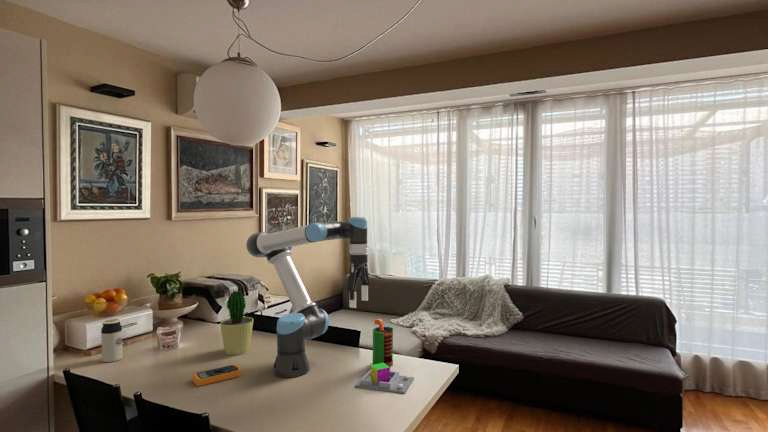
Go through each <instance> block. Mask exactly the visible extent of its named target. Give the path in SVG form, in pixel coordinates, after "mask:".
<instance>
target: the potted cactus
mask: <svg viewBox="0 0 768 432" xmlns="http://www.w3.org/2000/svg"><path fill="white" fill-rule="evenodd" d="M226 298H227V300H226V304H225V305H226V306H225V309H226V311H228V313H229V314H228V318H224V319H222V320H221V321H220V322H219V324H220V332H221V336H222V343H223V344H222V345H223V349H224V354H225V355H228V356H239V355H243V354H246V352H247V353H248V352H250V349H251V343H252V341H251V340H252V334H253V325H254V321H255V320H254V318H253V317H249V316H245V315H244V314H245V309H246V307H247V304H248V303H247V302H246V298H245V297H244V294H243V293H242V290H232V291H231V292H230V294H229V295H228V296H227V297H226Z"/></svg>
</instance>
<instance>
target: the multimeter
mask: <svg viewBox="0 0 768 432" xmlns="http://www.w3.org/2000/svg"><path fill="white" fill-rule="evenodd" d="M241 375H242V367H240V366H239V365H238V364H230V365H225V366H220V367H217V368H210V369H208V370H207V369H206V370H203V371H198V372H193V373H192V375H191V377H192V382H193V383H194V384H195V386H196V387H202V386H205V385H209V384H214V383H218V382H219V383H220V382H221V381H227V380H231V378H232V379H236V378H235V377H237V378H239V377H241Z"/></svg>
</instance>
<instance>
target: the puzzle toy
mask: <svg viewBox="0 0 768 432" xmlns="http://www.w3.org/2000/svg"><path fill="white" fill-rule="evenodd" d="M370 369H371V380H372V381H374V382H375V383H376V384H379V382H380V381H381V382H389V381H390V371H391V367H389V366H388V365H386V364H385V363H379V364H374V365H373V364H370Z"/></svg>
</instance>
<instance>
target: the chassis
mask: <svg viewBox="0 0 768 432" xmlns="http://www.w3.org/2000/svg"><path fill="white" fill-rule="evenodd" d="M414 380H415V377H414V376H409V375H408V374H405V375H401V374H400V372H399V371H394V370H390V381H389V382H381V381H380V382H379V384H376V383H375V382H374V381H372V380H371V368H370V369H369V370H368V371H366V373H365V374H363V376H362V377H361V378H360V379H359V380H358V381H357V382H356V383H355V384H354V388H359V389H366V390H373V391H381V392H390V393H396V394H406V393H407V391H408V389H409V388H410V386H411V385H412V383H413V382H414Z"/></svg>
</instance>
